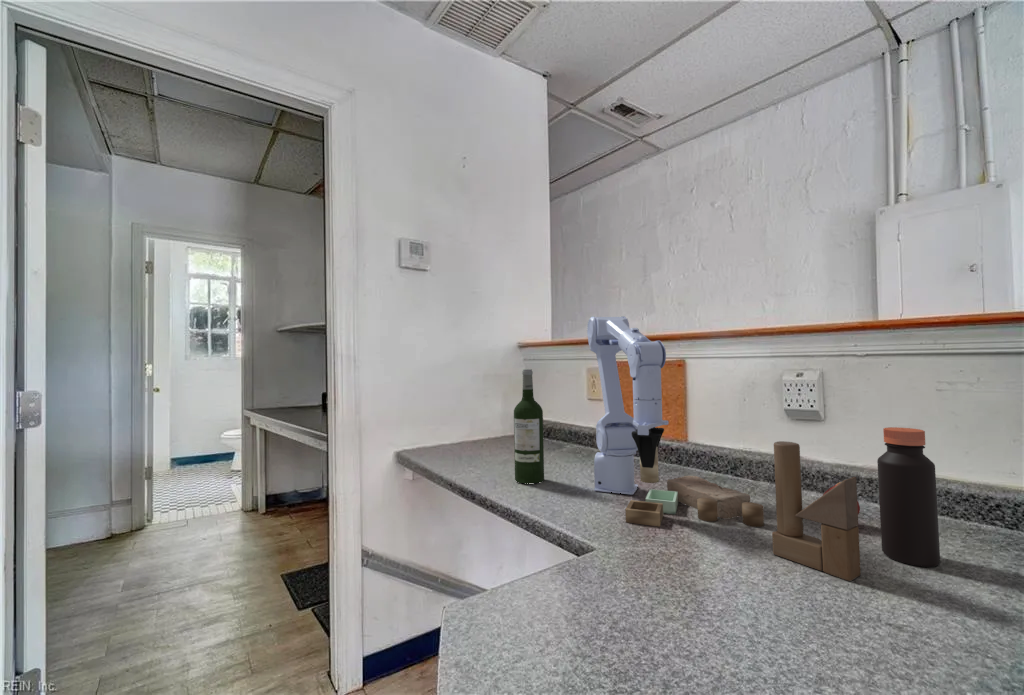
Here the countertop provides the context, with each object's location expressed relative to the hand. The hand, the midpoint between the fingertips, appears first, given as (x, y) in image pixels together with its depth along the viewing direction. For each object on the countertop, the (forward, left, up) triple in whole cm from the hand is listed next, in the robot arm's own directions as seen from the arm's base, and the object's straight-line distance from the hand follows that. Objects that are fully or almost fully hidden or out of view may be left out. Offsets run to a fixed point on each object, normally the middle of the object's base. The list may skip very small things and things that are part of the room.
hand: (649, 465), depth 91 cm
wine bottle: (-33, +16, -10) cm, 38 cm away
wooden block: (+26, -14, -10) cm, 31 cm away
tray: (+2, +6, -10) cm, 12 cm away
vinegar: (+40, -6, -10) cm, 41 cm away
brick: (+11, +11, -11) cm, 19 cm away
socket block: (-1, -3, -10) cm, 11 cm away
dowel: (0, 0, -3) cm, 3 cm away
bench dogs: (+15, +2, -10) cm, 18 cm away
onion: (+34, +7, -10) cm, 36 cm away
